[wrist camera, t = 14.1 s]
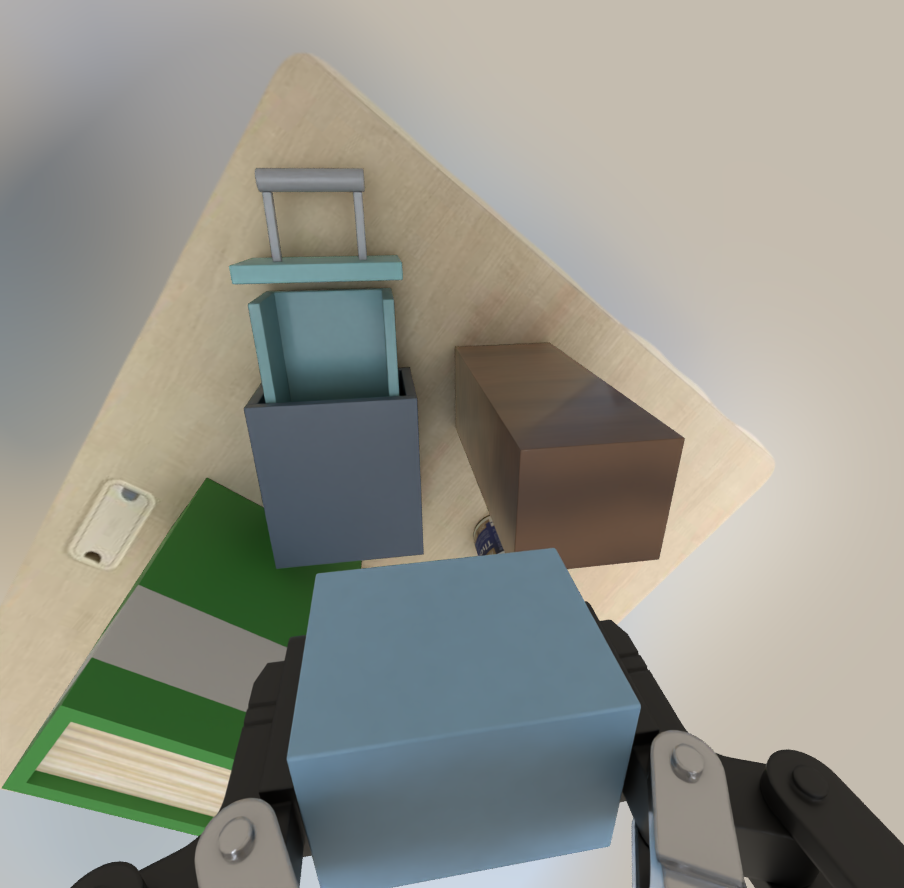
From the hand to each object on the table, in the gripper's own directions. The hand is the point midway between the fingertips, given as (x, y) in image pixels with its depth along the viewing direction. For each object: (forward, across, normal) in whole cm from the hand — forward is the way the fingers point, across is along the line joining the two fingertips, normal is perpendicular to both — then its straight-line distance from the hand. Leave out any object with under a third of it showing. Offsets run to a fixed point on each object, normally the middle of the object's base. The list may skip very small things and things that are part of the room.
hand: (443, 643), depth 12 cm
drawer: (+34, +5, -3) cm, 34 cm away
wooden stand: (+34, -10, +5) cm, 36 cm away
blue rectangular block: (+1, 0, 0) cm, 1 cm away
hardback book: (+34, +14, +21) cm, 43 cm away
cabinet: (+34, +5, +10) cm, 36 cm away
